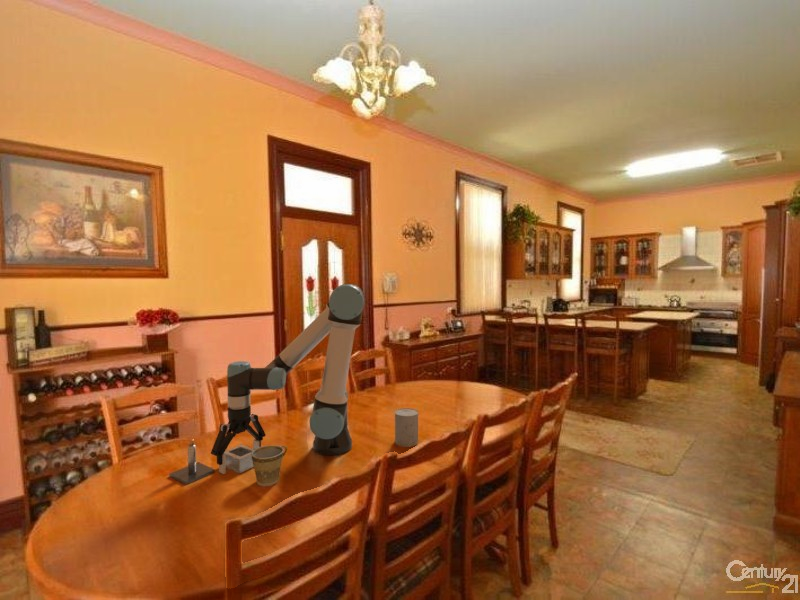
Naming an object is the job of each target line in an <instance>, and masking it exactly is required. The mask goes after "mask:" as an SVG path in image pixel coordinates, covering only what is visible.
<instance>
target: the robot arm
mask: <svg viewBox="0 0 800 600" xmlns="http://www.w3.org/2000/svg"><path fill="white" fill-rule="evenodd" d="M365 301H366V296H365V293H364V291H363V290H362V289H361V287H360V286H358V285H356V284H353V283H345V284H340V285H338V286H337V287H335V288H334V289H333V291H332V292H331V293H330V296H329V299H328V302H327V303H326V304H325V305H326V306H325V308H324V310H323V311H322V312H320V314H319V315H317V317H316V318H315V319H314V320H313V321H312V322H311V323H310V324H309V325H308V326H306V327H305V328H304V329H303V330H302V332H300V333H299V334H298V335H297V337H295V338H294V340H292V341H291V342H290V343H289V344H288V345H287V346H286V347H285V348H284V349H283V350H282V351H281V352H280V353H279V354H278V355H277V356H276V357H275V358H274V359H273V360H272V361H270V363H268V364H267V365H266V366H265V367H252V366H251V363H250V362H249V361H244V360H243V361H241V360H240V361H233V362H231V363H229V364H228V365H227V370H226V371H227V373H226V379H227V380H226V382H227V384H226V385H227V407H228V408H227V418H228V421H227V423H225V424H223V423H220V424H219V427H218V429H219V431H218V432H217V435H216V438H215V441H214V442H213V446H212V448H211V451H210V455H213V456H215V457H216V464H217V465H218V473H220V474H222V475H225V474H226V473H227V468H226V456H225V454H224V452H225V451H226V450H228V447H229V445H230V444H231V442H232V440H233V438H235V436H237V435H238V434H241V433H244V432H246V431H247V432H248V433H249V435H251V436H252V437H253V438H254V439H252V448H253V449H257V448H259V447H262V444H261V443H262V441H263V440H264V438H265V437H266V432H265V430H264V429H263V426H262V424H261V422H260V421H259V416H258V414H255V413H251V412H252V411H251V410H252V408H251V407H252V406H251V402H252V400H251V399H252V398H251V397H252V396H251V395H252V394H251V391H255V390H260V391H261V390H265V391H266V390H268V391H269V390H271V391H276V390H283V389H284V388H285V387H286V383H287V375H288V374H289V373H290V372H291V371H292V370H293V369H295V367H296V366H297V365H298V364H299V363H300V362H301V361H302V360H303V359H304V358H306V356H307V355H308V354H309V353H310V352H311V351H312V350H314V348H316V346H318V345H319V343H321V342H322V341H323V339H325V337H327V336H328V335H329V336H328V342H327V349H326V355H325V361H324V366H323V367H324V368H323V373H322V380H321V385H320V389H319V390H318V391H317V393H316V394H315V396H314V400H313V406H312V413H311V415H310V417H309V420H308V421H309V429H310V431H311V433H312V434H314V439H313V441H312V450H313V452H314V453H316V454H318V455H322V456H337V455H341V454H344V453H347V452H348V451H350V450H351V449H352V448H353V440H352V437H351V434H350V430H349V428H348V401H349V396H348V391H347V390H346V388H347V383H348V375H349V370H350V363H351V357H352V350H353V345H354V339H355V334H356V329H357V328H359V327H360V326H361V324H362V318H363V313H364V307H365V304H366V303H365ZM251 422H252V425H253V427H254V428H255V430H254V429H253V427H252V426H251V425H250V423H251Z"/></svg>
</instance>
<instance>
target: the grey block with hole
mask: <svg viewBox="0 0 800 600" xmlns="http://www.w3.org/2000/svg"><path fill="white" fill-rule="evenodd" d="M254 450H255V449H253V447H250V446H247V445H245V444H243V443H242V444H239V445H237V446H234V447H232V448H229V449H226V450H225V452H224V454H225V456H226V469H228V470H230V471H232V472H234V473H237V474H242V473H245V472H246V471H248V470H251V469H254V465H253V461H252V455H251V454H252V452H253V451H254Z"/></svg>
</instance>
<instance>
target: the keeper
mask: <svg viewBox="0 0 800 600" xmlns="http://www.w3.org/2000/svg"><path fill="white" fill-rule="evenodd" d="M186 448H187V466H185V467H183V468H180V469H178V470H175V471H172V472H170V473H169V475H168V476H169V478H172V479H174V480H175V481H177V482H179V483H182V484H183V485H185V486H187V485H189V484H191V483H193V482H195V481H199V480H201V479H202V478H203V479H204V478H205V477H208V476H210V475H212V474H215V473H216V469H214V468H213V467H211V466H209V465H207V464H204V463H201V462H197V445H196V443H195V438H190V439H188V445H187V447H186Z"/></svg>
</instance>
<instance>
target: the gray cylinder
mask: <svg viewBox="0 0 800 600" xmlns="http://www.w3.org/2000/svg"><path fill="white" fill-rule="evenodd" d="M394 443H395V444H396V446H399V447H405V448H409V447H415V446H417V445H418V444H419V410H417V409H415V408H410V407H409V408H405V407H404V408H398V409H396V410H394Z"/></svg>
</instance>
